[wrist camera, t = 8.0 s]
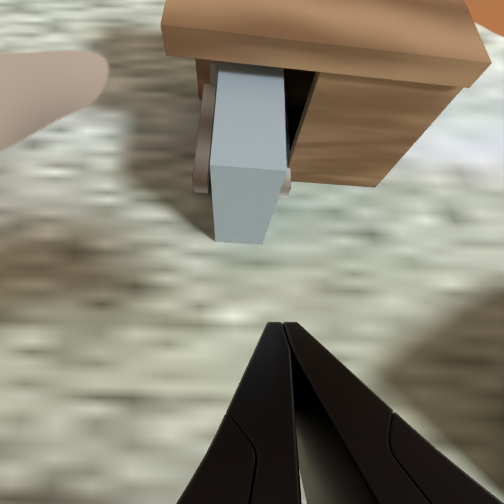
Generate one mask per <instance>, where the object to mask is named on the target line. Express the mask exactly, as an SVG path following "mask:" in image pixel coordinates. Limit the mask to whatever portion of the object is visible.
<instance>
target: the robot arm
mask: <svg viewBox="0 0 504 504" xmlns="http://www.w3.org/2000/svg"><path fill="white" fill-rule="evenodd" d="M392 413H393V410H392V409H391V408H390V407H389V406H388V405H387V404H386V403H385V402H384V401H382V400H381V399H380V398H379V397H378V396H377V395H376V394H375V393H374V392H373V391H372V390H371V389H369V388H368V387H367V386H366V385H365V384H364V383H363V382H362V381H361V380H360V379H359V378H357V377H356V376H355V375H354V374H353V373H352V372H351V371H350V370H349V369H348V368H347V367H345V366H344V365H343V364H342V363H341V362H340V361H339V360H338V359H337V358H336V357H335V356H333V355H332V354H331V353H330V352H329V351H328V350H327V349H326V348H325V347H324V346H323V345H322V344H320V343H319V342H318V341H317V340H316V339H315V338H314V337H313V336H312V335H311V334H310V333H308V332H307V331H306V330H305V329H304V328H303V327H302V326H301V325H300V324H299V323H297V322H284V323H283V324H282V323H281V322H268V323H267V324H266V326H265V329H264V331H263V333H262V335H261V337H260V339H259V342H258V344H257V346H256V348H255V350H254V353H253V355H252V357H251V359H250V361H249V364H248V366H247V368H246V370H245V372H244V374H243V377H242V379H241V381H240V383H239V385H238V388H237V390H236V392H235V394H234V396H233V399H232V401H231V403H230V405H229V407H228V409H227V412H226V415H225V416H224V418H223V420H222V422H221V424H220V426H219V429H218V431H217V433H216V435H215V437H214V439H213V441H212V443H211V445H210V447H209V449H208V451H207V453H206V455H205V456H204V458H203V460H202V462H201V463H200V465H199V467H198V468H197V470H196V472H195V474H194V475H193V477H192V479H191V481H190V482H189V484H188V486H187V487H186V489H185V490H184V492H183V494H182V495H181V497H180V498H179V500H178V502H177V503H176V504H302V503H301V489H300V475H299V469H300V474H301V478H302V483H303V487H304V492H305V496H306V501H307V504H504V503H502V502H501V501H500V500H499V499H497V498H496V497H495V496H494V495H492V494H491V493H490V492H489V491H487V490H486V489H485V488H484V487H482V486H481V485H480V484H479V483H477V482H476V481H475V480H474V479H472V478H471V477H470V476H469V475H467V474H466V473H465V472H464V471H463V470H461V469H460V468H459V467H458V466H456V465H455V464H454V463H453V462H452V461H450V460H449V459H448V458H447V457H446V456H444V455H443V454H442V453H441V452H439V451H438V450H437V449H436V448H435V447H434V446H433V445H431V444H430V443H429V442H428V441H427V440H426V439H425V438H423V437H422V436H421V435H420V434H419V433H418V432H417V431H416V430H414V429H413V428H412V427H411V426H410V425H409V424H408V423H407V422H406V421H404V420H403V419H402V418H401V417H400V416H399V415H398V414H397V413H395V412H394V413H393V414H392Z"/></svg>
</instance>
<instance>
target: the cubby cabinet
mask: <svg viewBox="0 0 504 504" xmlns="http://www.w3.org/2000/svg"><path fill="white" fill-rule="evenodd" d="M161 30H162V35H163V40H164V46H165V51H166V55H168V56H177V57H187V58H195V59H196V69H197V80H198V91H199V99H202V104H201V112H200V121H199V129H198V138H197V146H196V155H195V163H194V172H193V180H192V181H193V186H194V192H196V193H208V188H209V177H210V158H211V147H212V136H213V126H214V115H215V104H216V94H217V87H213V86H211V85H210V66H211V63H218V64H219V61H224V62H233V63H242V64H252V65H261V66H270V67H280V68H284V98H285V130H286V161H287V172H286V175H285V178H284V181H283V184H282V187H281V190H280V193H279V196H278V198H283V199H287V197H288V194H289V191H290V189H291V181H297V182H311V183H324V184H338V185H351V186H364V187H376V186H377V184H378V183H380V182H381V181H382V180H383V178H384V177H385V176H386V175H387V174H388V173H389V172H390V170H391V169H392V168H393V167H394V166H395V165H396V164H397V162H398V161H399V160H400V159H401V158H402V157H403V156H404V154H405V153H406V152H407V151H408V150H409V149H410V148H411V147H412V145H413V144H414V143H415V142H416V141H417V140H418V139H419V137H420V136H421V135H422V134H423V133H424V132H425V131H426V129H427V128H428V127H429V126H430V125H431V124H432V123H433V121H434V120H435V119H436V118H437V117H438V116H439V115H440V114H441V112H442V111H443V110H444V109H445V108H446V107H447V106H448V104H449V103H450V102H451V101H452V100H453V99H454V98H455V96H456V95H457V94H458V93H459V92H460V91H461V90H462V88H463V87H465V88H470V87H471V85H472V84H473V83H474V82H475V81H476V80H477V79H478V78H479V77H480V75H481V74H482V73H483V72H484V71H485V70H486V69H487V68H488V67H489V65H490V64H491V60H490V58H489V56H488V53H487V51H486V49H485V47H484V44H483V42H482V40H481V37H480V35H479V33H478V31H477V28H476V26H475V24H474V21H473V20H472V17H471V15H470V12H469V10H468V8H467V6H466V3H465V1H464V0H166V2H165V7H164V11H163V16H162V20H161ZM288 107H291V108H301V109H304V110H303V113H302V116H301V119H300V122H299V126H298V129H297V132H296V135H295V138H294V141H293V144H292V148H291V151H290V147H289V121H288Z"/></svg>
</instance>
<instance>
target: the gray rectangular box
mask: <svg viewBox="0 0 504 504" xmlns="http://www.w3.org/2000/svg"><path fill="white" fill-rule="evenodd" d="M210 85H211V86H213V87H217V94H216V104H215V115H214V126H213V136H212V147H211V158H210V174H211V188H212V202H213V216H214V229H215V242H228V243H246V244H263V241H264V238H265V235H266V232H267V229H268V226H269V223H270V220H271V217H272V214H273V211H274V208H275V205H276V202H277V199H278V196H279V193H280V190H281V187H282V184H283V181H284V178H285V175H286V172H287V161H286V130H285V98H284V68H280V67H270V66H261V65H252V64H242V63H233V62H224V61H219V64H218V63H211V66H210Z"/></svg>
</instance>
